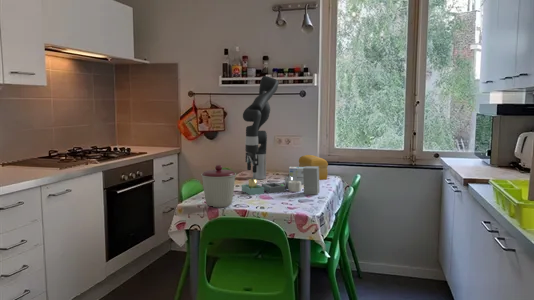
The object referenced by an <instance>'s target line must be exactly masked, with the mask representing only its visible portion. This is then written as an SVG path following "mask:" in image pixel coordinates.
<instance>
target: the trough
mask: <svg viewBox="0 0 534 300" xmlns="http://www.w3.org/2000/svg"><path fill="white" fill-rule="evenodd" d="M241 191H242V192H243V191H244V193H245V192H246V193H245V194H247V193H248V194H247V195H249V196H256V195H255V194H257V195H264V193H265V191H264V188H263V187H262V185H259V184H257V188H253V189H250V188H249V183H248V184H241Z"/></svg>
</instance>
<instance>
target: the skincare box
mask: <svg viewBox="0 0 534 300" xmlns="http://www.w3.org/2000/svg"><path fill="white" fill-rule="evenodd" d="M303 178H304V184H303V194H304V195H316V196H317V195H318V194H319V193H320V180H319V167H312V166H306V167H304V168H303Z"/></svg>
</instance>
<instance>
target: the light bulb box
mask: <svg viewBox="0 0 534 300" xmlns="http://www.w3.org/2000/svg"><path fill="white" fill-rule="evenodd" d="M303 168H304V167H299V166H289V168H288V176H290V177H293V181H300V182H301V185H304V178H303Z"/></svg>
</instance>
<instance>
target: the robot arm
mask: <svg viewBox="0 0 534 300" xmlns="http://www.w3.org/2000/svg"><path fill="white" fill-rule="evenodd" d="M278 88H279V80H278V79H276V78H273V77H271V76H267V75H263V76H262V77H261V78H260V82H259V90H258V95H257V97H255V98H254V100H253V102H252V103H251V104H250V105H249V106H248V107H246V108H245V109H244V110H243V113H242V118H243V120H244V121H245V122H250V123H252V125H247V126H246V128H245V141H244V142H245V143H244V144H245V148H244V149H245V150H244V151H245V163H246V168H247V169H246V170H247V171H251V170H252V178H254V179H257V180H264V179H267V142H268V135H267V133H268V132H267V131H266V130H260V128H261V127H262V126H263V125H264V124H265V123H266V122H267V121H268V120H269V117H270V113H271V106H270V104H269V100H271V98H272V97H273V96H274V95H275V93H276V92H277V91H278Z"/></svg>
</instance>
